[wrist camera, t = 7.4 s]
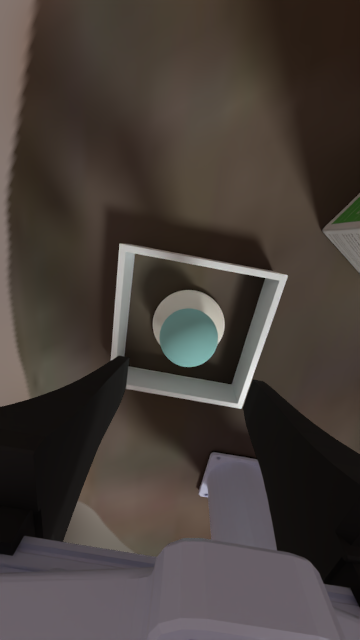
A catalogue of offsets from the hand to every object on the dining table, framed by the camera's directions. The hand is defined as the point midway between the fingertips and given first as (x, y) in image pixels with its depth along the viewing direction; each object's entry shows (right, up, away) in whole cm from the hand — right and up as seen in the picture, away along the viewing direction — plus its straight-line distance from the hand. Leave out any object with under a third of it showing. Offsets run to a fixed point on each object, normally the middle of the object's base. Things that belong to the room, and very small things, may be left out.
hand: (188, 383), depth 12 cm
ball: (0, +3, +8) cm, 9 cm away
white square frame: (0, +3, +9) cm, 9 cm away
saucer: (0, +3, +9) cm, 9 cm away
